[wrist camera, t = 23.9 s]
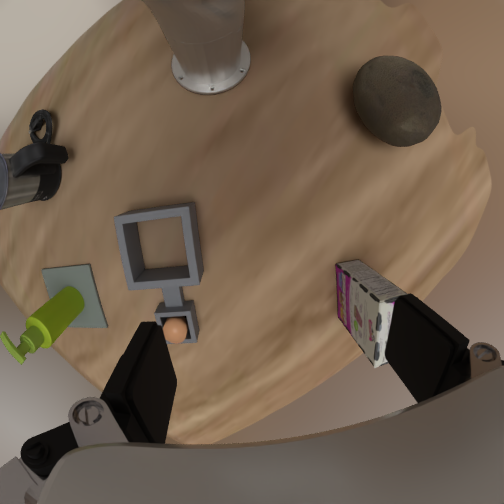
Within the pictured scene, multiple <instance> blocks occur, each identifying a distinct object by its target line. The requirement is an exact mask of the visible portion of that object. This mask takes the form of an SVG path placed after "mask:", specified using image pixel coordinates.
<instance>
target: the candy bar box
mask: <svg viewBox="0 0 504 504" xmlns="http://www.w3.org/2000/svg"><path fill="white" fill-rule="evenodd" d="M336 280H337V302H338V318H339V319H340V320H341V322H342V323H343V325H344V326H345V327H346V329H347V330H348V331H349V333H350V334H351V336H352V337H353V338H354V340H355V341H356V343H357V344H358V345H359V347H360V348H361V349H362V351H363V352H364V354H365V355H366V356H367V358H368V359H369V360H370V362H371V363H372V365H373V366H374V368H376V367H379V366H382V365H384V364H387V363H388V361H387V360H386V358H385V348H386V343H387V339H388V334H389V329H390V324H391V318H392V313H393V307H394V302H395V300H397V298H398V297H399V296H400V295H405V294H407V293H406V292H404V291H403V290H401V289H400V288H399V287H397V286H396V285H394V284H393V283H392V282H390V281H389V280H387V279H386V278H385V277H383V276H381V275H380V274H379V273H378V272H376V271H374V270H373V269H372V268H370V267H369V266H367V265H366V264H364V263H363V262H361V261H360V260H353V261H349V262H344V263H338V264H336Z"/></svg>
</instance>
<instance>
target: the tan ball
mask: <svg viewBox="0 0 504 504" xmlns="http://www.w3.org/2000/svg"><path fill="white" fill-rule="evenodd" d="M187 331H188V321H187V320H186V318H185V317H183V316H174V317H168V318H167V320H166V322H165V324H164V327H163V332H164V336H165V339H166V340H167V341H169V342H171V343H176V344H177V343H181V342H183V341H184V340H185V338H186V334H187Z"/></svg>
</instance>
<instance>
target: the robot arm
mask: <svg viewBox="0 0 504 504" xmlns="http://www.w3.org/2000/svg"><path fill="white" fill-rule="evenodd" d="M142 1H143V2H144V3H145V4H146V5H147V7H148V8H149V9H150V10H151V12H152V13H153V15H154V16H155V18H156V20H157V22H158V24H159V25H160V27H161V29H162V31H163V33H164V35H165V37H166V39H167V41H168V43H169V45H170V47H171V49H172V51H173V53H174V55H173V58H172V64H171V66H172V72H173V74H174V77H175V78H176V80H177V81H178V83H179V84H180V85H181V86H182V87H184V88H185V89H187V90H189V91H191V92H193V93H197V94H204V95H211V94H218V93H222V92H225V91H227V90H230V89H231V88H233V87H235V86H236V85H237V84H239V83H240V82H241V81H242V80H243V78H244V77H245V76H246V74H247V72H248V70H249V66H250V60H251V58H250V52H249V49H248V47H247V45H246V44H245V42H244V41H243V40H242V34H243V22H244V11H245V1H244V0H142ZM241 71H243V73H240V72H241ZM181 78H183V79H182V80H181ZM211 89H214V91H211ZM468 343H469V339H467V338H466V337H465V336H464V335H463V334H462V333H460V332H459V331H458V330H457V329H456V328H454V327H453V326H452V325H451V324H449V323H448V322H447V321H446V320H445V319H443V318H442V317H441V316H440V315H438V314H437V313H436V312H435V311H433V310H432V309H431V308H429V307H428V306H427V305H426V304H424V303H423V302H422V301H421V300H419V299H418V298H417V297H415V296H414V295H413V294H405V295H400V296H399V297H398V298H397V300H395V302H394V307H393V313H392V318H391V324H390V329H389V334H388V339H387V343H386V348H385V358H386V360H387V361H388V363H389V364H390V365H391V367H392V368H393V369H394V371H395V372H396V373H397V375H398V376H399V378H400V379H401V380H402V381H403V383H404V384H405V386H406V387H407V388H408V390H409V391H410V393H411V394H412V395H413V397H414V398H415V400H416V401H417V402H418V403H417V404H415V405H412V406H409V407H407V408H404V409H401V410H399V411H396V412H393V413H390V414H387V415H384V416H381V417H378V418H375V419H372V420H368V421H365V422H361V423H357V424H354V425H350V426H346V427H342V428H338V429H333V430H329V431H324V432H320V433H315V434H309V435H304V436H298V437H292V438H285V439H278V440H270V441H261V442H250V443H233V444H165V440H166V435H167V430H168V425H169V420H170V415H171V410H172V405H173V401H174V396H175V391H176V387H177V379H176V375H175V372H174V368H173V365H172V361H171V358H170V354H169V351H168V347H167V343H166V340H165V336H164V332H163V328H162V326H161V325H158V324H157V323H156V322H141V323H140V325H139V327H138V328H137V330H136V332H135V334H134V336H133V338H132V339H131V341H130V343H129V345H128V347H127V349H126V351H125V352H124V354H123V355H122V356H121V357H120V359H119V361H118V363H117V365H116V367H115V369H114V371H113V373H112V375H111V377H110V378H109V380H108V382H107V384H106V386H105V388H104V390H103V392H102V394H101V397H100V398H95V397H87V398H84V399H81V400H79V401H77V402H76V403H75V404H73V406H72V407H71V408H70V410H69V414H68V417H69V422H68V423H66V424H63V425H61V426H59V427H56V428H54V429H51V430H49V431H47V432H44V433H42V434H39V435H37V436H35V437H32V438H30V439H28V440H27V441H26V442H25V443H24V444H23V446H22V448H21V458H20V459H18V458H17V457H15V458H13V459H12V460H10V461H9V462H8V463H6V464H5V465H4V466H2V467H1V468H0V504H504V361H503V360H501V358H500V354H499V351H498V350H497V349H496V348H495V347H494V346H492V345H490V344H488V343H483V342H478V343H475V344H473V345H472V346H471V347H470V350H469V349H468V348H467V346H468Z"/></svg>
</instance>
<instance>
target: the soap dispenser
mask: <svg viewBox="0 0 504 504" xmlns="http://www.w3.org/2000/svg"><path fill="white" fill-rule="evenodd" d="M83 309H84V299H83V297H82V295H81V294H80V292H79V291H78V290H77V289H75V288H74V287H71V286H67V287H65V288H63V289H62V290H61V291H60V292H59V293H57V294H56V295H55V296H54V297H52V298H51V299H50V300H49V301H48V302H46V303H45V304H44V305H43V306H42V307H40V308H39V309H38V310H37V311H36V312H35V313H33V314H32V315H31V316H30V317H29V318H28V319H27V321H26V329H27V330H26V331H25V332H24V333H23V334H22V335H21V336H20V341H21V344H20V345H19V346H18V347H17V348H16V347H15V346H14V344H13V343H12V342H11V341H10V339H9V338H8V336H7V334H6V332H2V334H1V335H0V338H1V340H2V341H3V343H4V345H5V347H6V348H7V350H8V351H9V352H10V353H11V355H12V356H13V357H14V358H15V359H16V360H17V361H18V362H19V363H20V364H21V365H22V363H23V362H24V361H25V359H26V357H24V356H25V354H26V353H27V352H29V353H34V352H35V351H36V350H37V349H38V348H39V347H42V348H49V347H50V346H51V345H52V344H53V343H54V342H55V340H56V339H57V338H58V337H59V336H60V335H61V334H62V332H63V331H64V330H65V329H66V328H67V327H68V326H69V325H70V324H71V323H72V321H73V320H74V319H75V318H76V317H77V316H78V315H79V314H80V313H81V312H82V311H83Z"/></svg>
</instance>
